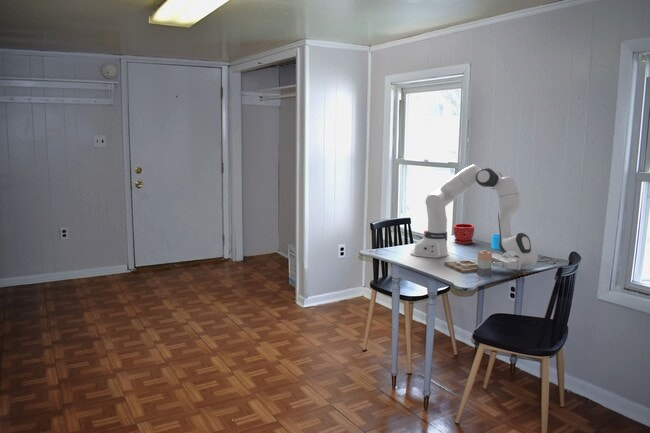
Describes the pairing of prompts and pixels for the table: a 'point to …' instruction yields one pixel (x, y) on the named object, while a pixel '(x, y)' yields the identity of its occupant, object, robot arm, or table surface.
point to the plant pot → (463, 233)
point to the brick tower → (484, 263)
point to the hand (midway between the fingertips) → (488, 262)
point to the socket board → (463, 265)
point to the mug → (495, 241)
